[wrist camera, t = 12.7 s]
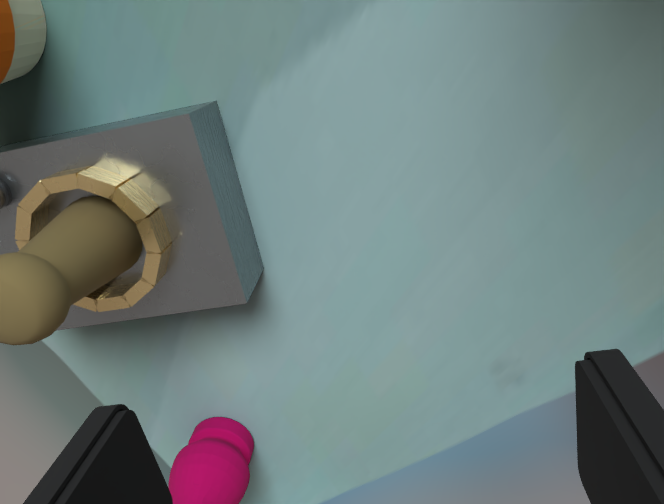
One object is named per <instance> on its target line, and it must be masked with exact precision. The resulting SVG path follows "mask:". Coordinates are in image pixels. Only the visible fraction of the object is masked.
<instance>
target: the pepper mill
mask: <svg viewBox="0 0 664 504" xmlns="http://www.w3.org/2000/svg"><path fill="white" fill-rule="evenodd" d="M253 449H254V442H253V438H252V436H251V434H250V432H249V431H248V430H247V429H246V428H245V427H244V426H243V425H242V424H240V423H239V422H237V421H234V420H232V419H229V418H224V417H213V418H209V419H206V420H204V421H202V422H201V423H199V424H198V425H197V426H196V428H195V430H194V432H193V434H192V436H191V438H190V440H189V443H188V445H187V446H186V447H184V448H183V449H182V450H181V451H180V452H179V453H178V455H177V456H176V458H175V460H174V463H173V466H172V468H171V472H170V478H169V491H170V493H171V495H172V499H173V504H239V502H240V501H241V499H242V498H243V496H244V494H245V491H246V489H247V486H248V484H249V478H250V473H249V467H248V465H249V462H250V459H251V456H252V452H253Z"/></svg>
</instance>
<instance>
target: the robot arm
mask: <svg viewBox="0 0 664 504" xmlns="http://www.w3.org/2000/svg"><path fill="white" fill-rule="evenodd" d="M575 380H576V415H577V452H578V469H579V474H580V478H581V481H582V484H583V486H584V489H585V491H586V493H587V495H588V498H589V500H590V502H591V504H664V410H663V409H662V407H661V406H660V404H659V403H658V402H657V400H656V399H655V398H654V396H653V395H652V393H651V392H650V391H649V389H648V388H647V387H646V385H645V384H644V383H643V381H642V380H641V379H640V377H639V376H638V374H637V373H636V372H635V370H634V369H633V367H632V366H631V365H630V363H629V362H628V360H627V359H626V358H625V356H624V355H623V354H622V352H621V351H620V350H618V349H611V350H602V351H593V352H587V353H585V356H584V360H582V361H577V362H576V364H575ZM23 504H173V499H172V495H171V493H170V491H169V488H168V486H167V484H166V482H165V479H164V477H163V475H162V473H161V470H160V468H159V466H158V464H157V462H156V459H155V457H154V455H153V452H152V450H151V448H150V446H149V443H148V441H147V439H146V436H145V434H144V432H143V430H142V427H141V425H140V423H139V421H138V418H137V416H136V414H135V413H134V412H133V411H132V410H129V409H128V408H127V407H126V406H125V405H122V404H118V405H110V406H101V407H97V408H95V409H94V410H93V411H92V413H91V414H90V415H89V416H88V418H87V419H86V420H85V422H84V423H83V425H82V426H81V427H80V429H79V430H78V431H77V432H76V434H75V435H74V436H73V438H72V439H71V440H70V442H69V443H68V444H67V446H66V447H65V449H64V450H63V451H62V452H61V454H60V455H59V456H58V458H57V459H56V460H55V462H54V463H53V464H52V466H51V467H50V468H49V470H48V471H47V473H46V474H45V475H44V476H43V478H42V479H41V480H40V482H39V483H38V485H37V486H36V487H35V488H34V490H33V491H32V492H31V494H30V495H29V496H28V498H27V499H26V500H25V502H24V503H23Z"/></svg>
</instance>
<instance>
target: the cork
mask: <svg viewBox="0 0 664 504" xmlns="http://www.w3.org/2000/svg"><path fill="white" fill-rule="evenodd" d="M141 252H142V239H141V236H140V233H139V231H138V228H137V225H136V223H135V222H134V221H133V220H132V219H131V218H130V217H129V216H128V215H127V214H126V213H125V212H123V211H122V210H121V209H120V208H119V207H118V206H117V205H116V204H115V203H114V202H113V201H111V200H109V199H107V198H102V197H97V196H90V197H82V198H80V199H78V200H76V201H74V202H72V203H71V204H69V205H68V206H67V207H66V208H65V209H64V210H63V211H62V212H61V213H60V214H59V215H57V216H56V217H55V218H54V219H53V220H52V221H51V222H50V223H49V224H48V225H47V226H45V227H44V228H43V229H42V230H41V231H40V232H39V233H38V234H37V235H36V236H35V237H33V238H32V239H31V240H30V241H29V242H28V243H27V244H26V245H25V246H24V247H23V248H21V249H20V250H19V251H18V252H13V253H5V254H1V255H0V343H5V344H10V345H22V344H33V343H35V342H37V341H39V340H42V339H44V338H46V337H48V336H50V335H51V334H52V333H53V332H54V331H55V330H56V329H57V328H58V327H59V326H60V325H61V324H62V323H63V322H64V321H65V319H66V317H67V315H68V312H69V309H70V306H71V305H73V304H74V303H76V302H77V301H79V300H81V299H82V298H84V297H85V296H87V295H89V294H90V293H92V292H93V291H95V290H97V289H98V288H100V287H101V286H103V285H104V284H106V283H108V282H109V281H111V280H112V279H114V278H116V277H117V276H119V275H120V274H122V273H124V272H125V271H127V270H128V269H130V268H131V267H132V266H133V265H134V264H135V263H136V262H137V261H138V259H139V257H140V254H141Z"/></svg>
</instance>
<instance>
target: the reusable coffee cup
mask: <svg viewBox="0 0 664 504" xmlns="http://www.w3.org/2000/svg"><path fill="white" fill-rule="evenodd" d="M46 31H47V27H46V19H45V14H44V10H43V7H42V4H41V1H40V0H0V84H2V83H5V82H7V81H10V80H13V79H15V78H18V77H21V76H23V75H25V74H26V73H28V72H29V71H30V70H32V69H33V67H34V66H35V65H36V64H37V63H38V61H39V59H40V57H41V55H42V53H43V51H44V47H45V43H46Z"/></svg>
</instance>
